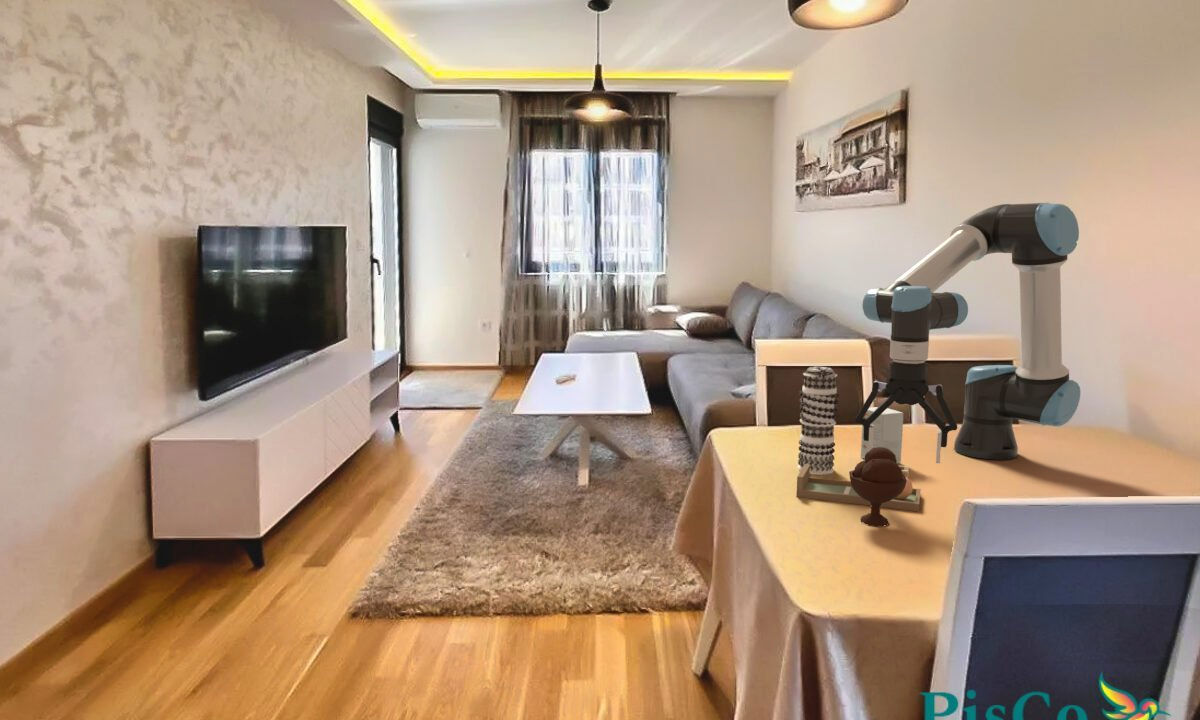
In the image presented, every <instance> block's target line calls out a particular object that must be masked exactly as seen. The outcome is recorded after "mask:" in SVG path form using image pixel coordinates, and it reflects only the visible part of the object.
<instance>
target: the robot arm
mask: <svg viewBox="0 0 1200 720" xmlns="http://www.w3.org/2000/svg"><path fill="white" fill-rule="evenodd" d="M1079 234H1080V230H1079V222H1078V219H1077V217H1076V215H1075V213H1074V212H1073V210H1072V209H1071V208H1070V207H1069V206H1067V205H1065V204H1063V203H1049V202H1035V203H1031V202H1029V203H1013V204H1012V203H1003V204H998V205H994V206H991V207H988V208H985V209H983V210H982V211H979V212H977V213H975V214H974V215H971V216H970V217H968V218H966V219H965V220H963V221H962V222H961V223H960V224H958V225H957V226H956V227H955V228H953V229H952V231H951V233H950V235H949V238H947V239H946V240H945V241H943V242H942V243H941V244H940V245H938V246H937V247H936V248H935V249H933V250H932V251H931V252H930V253H928V254H927V255H926V256H925V257H924V258H922V259H921V260H920V261H918V262H917V263H916V264H914V265H913V266H912V267H911V268H910V269H908V270H907V271H905V272H904V274H903V275H901V276H900V277H898V278H897V279H896V280H895V281H893V282H892V283H891V284H889V286H886V287H885V288H883V287H879V288H878V287H877V288H876V287H875V288H871V289H869V290H868V291H867V292H866V293H865V295H864V297H863V300H862V303H861V304H862V305H861V306H862V311H863V314H864V316H865V317H866V318H867V319H868V320H870V321H874V322H880V323H882V324H883V323H888V324H891V329H890V330H891V333H890V334H891V335H890V343H889V345H890V347H889V358H890V359H891V360H890V361H889V366H888V380H887V382H882V381H880V380H878V379H876V380H874V381H873V383H872V387H871V391H870V394H869V395H868V397H867V398H866V400H865V402H864V403H863V405H862V407H860V411H858V414H857V415H856V416H855V420H854V421H855V423H856V424H860V425H861V426H862V425H863V426H864V434H863V439H864V441H869V444H868V452H869V451H870V450H871V449H872V448H873V433H874V425H870V424H871V423H872V422H874V421H875V420H876V419H877V418H878V417H879V416H880V415H881V414H882V413H883V412H884V411H885V410H886V409H887V408H889V407H890V406H892V404H893V403H896V404H898V405H909V406H915V405H917V404H918V405H919V406H920V407H921V408H922V409H923V411H925V413H926V414H927V415H928V416H929V418H930V419H931V420H932V421H933V423H935V425H936V427H937V428H938V429H937V435H936V437H937V438H936V455H935V464H941V448H946V447H947V446H948V434H949V432H951V431H957V429H958V424H957V421H956V419H955V417H954V415H953V413H952V410H951V408H950V407H949V405H948V403H947V400H946V398H945V396H944V393H943V392H944V391H943V385H942V384H941V383H937V384H935V385H934V384H933V385H929V384H928V365H929V364H928V363H927V362H926V360H928V359H929V347H930V343H929V342H930V330H937V329H939V330H940V329H951V328H953V327H957V326H959V325H961V324H962V323H964V322H965V320H966V319H967V317H968V313H969V305H968V302H967V300H966V299H965V298H964V296H962V294H959V293H957V292H948V291H944V292H936V291H937V290H939V288H940V287H942V286H943V285H944V284H945V283H947V282H948V281H949V280H950V279H951V278H952V277H954V276H955V275H956V274H957V273H959V272H960V271H961V270H963V268H965V267H966V266H967V265H968V264H970V263H971V262H975V261H980V260H981V259H982V258H984V257H985V256H986V255H989V254H997V253H998V254H999V253H1002V254H1011V264H1012V265H1013V266H1014V267H1015V268H1017V269H1018V271H1019V299H1020V300H1019V307H1020V309H1019V310H1020V338H1021V342H1020V343H1021V365H1020V366H1018V368H1017V366H1016V365H1012V364H1004V365H1003V364H995V365H994V364H990V365H989V364H988V365H978V366H977V365H976V366H971V368H969V369H968V371H967V373H966V379H965V394H964V395H965V396H964V408H963V420H962V424H961V425H960V428H959V431H958V433H957V435H956V437H955V440H954V444H953V446H954V447H953V450H954V451H955V452H956V453H958V454H961V455H963V456H967V457H971V458H975V459H984V460H994V461H995V460H999V461H1001V460H1005V461H1006V460H1012V459H1015V458H1017V457H1018V453H1019V451H1018V450H1019V447H1018V444H1017V440H1016V436H1015V431H1014V428H1013V421H1014V420H1019V421H1023V422H1029V423H1034V424H1038V425H1041V426H1050V427H1062V426H1064V425H1066V424H1067V423H1069V421H1070V420H1071V419H1072V418H1073V417H1074V415H1075V413H1076V411H1077V409H1078V407H1079V403H1080V399H1081V386H1080V385H1079V383H1078V382H1077V381H1075V380H1073V379H1070V370H1069V368H1068V367H1067V366H1065V364H1063V359H1062V358H1063V357H1062V353H1063V352H1062V300H1061V297H1062V293H1061V283H1062V282H1061V267H1062V266H1063V265H1064V264H1065V263H1066V262H1067V261H1068V255H1070V254H1072V253H1073V252H1074V251H1075V249H1076V247H1077V245H1078V243H1077V242H1078V241H1079V236H1080V235H1079ZM884 389H886V392H888V394H889V396H888V397H886V399H885V400H884V401H883V402H882V403H881V404H880V405H879V406H877V407H878V408H877V409H876V410H875V411H874V412H873V413H872V414H871V415H870V416H869V417H868V418H867V419H866V418H863V417H864V415H865V414H866V412H867V410H868V409H869V408H871V405H872V404H873V402H874V400H875V399H876V397H877V395H878V393H882V392H883V390H884ZM928 392H931V394H932V395H933V396H934V397H936V399H937V402H938V404H939V406H940V408H941V410H942V412H943V414H944V416H945V419H946V421H947V424H946V422H944V420H943V419H942V417H940V415H939V414H938V413H937V412H936V411H935V409H934V408H933V407H932V405H931V404H930V403H929V402H928V400H927V399H926V398H925V396H926V395H927V394H928Z"/></svg>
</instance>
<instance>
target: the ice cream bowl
mask: <svg viewBox="0 0 1200 720" xmlns="http://www.w3.org/2000/svg"><path fill="white" fill-rule="evenodd" d="M896 462H897V460H896V456H895V454H894V453H893V452H892V451H891V450H889V449H887V448H885V447H876V448H872V449H871V450H870V451H869V452H867V453H866V454H865V459H864V460H861V461H860V462H858V463H856V465H855V467H854V470H850V471H848V472H849V473H848V474H849V481H851V485H852V487H853V490H854V491H855V492H856V493H857V494H858V495H859V496H860V497H862V498H863V499H865V500H867V501H869V502H870V503H871V506H870V512H869V513H866V514H865V515H862V516H861V517H860V523H862V522H864V523H865V525H866V524H868V525H867V526H871V525H873V526H872V527H885V526H884V525H886V526H888V525H887V524H889V525H890V522H889V519H888V518H887V517H886V516H884V515H883V514H881V512H880V511H881V507H880V506H881V504H882V503H885V502H888V501H890V500H892V499H894V498H896V497H897V496H898V495H900V494H901V493H902V491H903V490H904V488H905V485H906V482H907V480H906V478H905V476H904V475H902V470H901V468H899V466H898V465H899V463H896ZM864 523H863V524H864Z"/></svg>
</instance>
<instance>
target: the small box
mask: <svg viewBox="0 0 1200 720" xmlns="http://www.w3.org/2000/svg"><path fill="white" fill-rule="evenodd" d="M878 407H879V406H875V407H873V406H872V407H869V409H868V410H867V412H866V414H865V415H864V417H863V418H866V419H867V418H868V417H869V416H870V415H871V414H872V413H873V412H874V411H875V410H876V409H877V408H878ZM870 425H874V433H873V448H876V447H885V448H887V449H889V450H891V451H892V452H893V453H894V454H895V456H896V460H897V462H896V463H897V464H901V461H902V447H903V446H902V445H903V430H904V429H903V428H904V412H901V411H899V410H895V409H893V408H889V407H888V408H887V409H886V410H885V411H884V412H883V413H882V414H881V415H880V416H879V417H878V418H877V419H876V420H875V421H874V422H872V423H871V424H870ZM861 426H862V428H861V440H860V441H861V445H860V446H861V447H860V458H861V459H864V460H865V454H866V453H867V452H868V444H869V441H864V439H863V434H864V426H863V425H862V424H861Z"/></svg>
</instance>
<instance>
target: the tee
mask: <svg viewBox="0 0 1200 720" xmlns="http://www.w3.org/2000/svg"><path fill="white" fill-rule="evenodd" d="M898 466H899V468H901V470H902V475H904V476H905V477H906V478H908V479H909V468H910V467H909V465H908V466H907V465H900V464H898Z"/></svg>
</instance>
